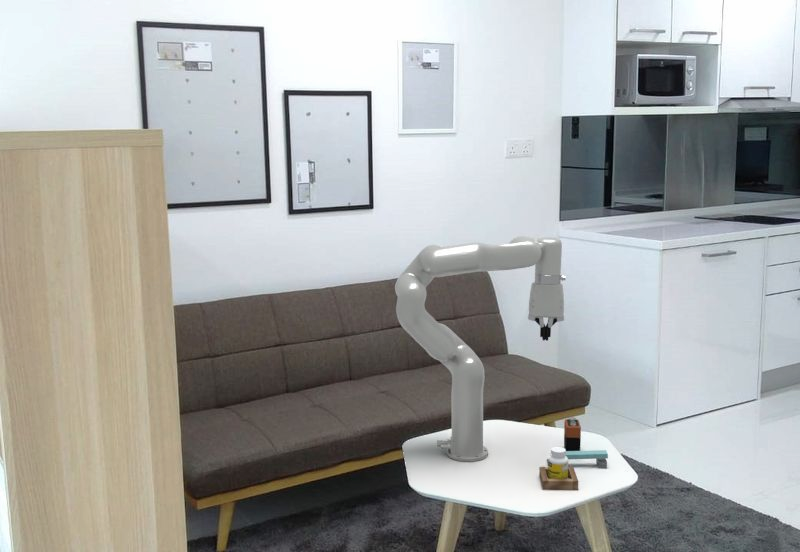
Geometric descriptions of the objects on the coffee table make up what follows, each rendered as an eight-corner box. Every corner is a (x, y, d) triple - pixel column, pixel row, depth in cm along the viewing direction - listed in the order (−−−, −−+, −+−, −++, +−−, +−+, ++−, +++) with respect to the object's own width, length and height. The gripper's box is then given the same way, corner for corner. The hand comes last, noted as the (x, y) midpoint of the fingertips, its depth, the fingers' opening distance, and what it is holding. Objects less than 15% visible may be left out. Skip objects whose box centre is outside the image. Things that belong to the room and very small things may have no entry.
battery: (578, 447, 262) (578, 416, 261) (580, 455, 256) (581, 424, 254) (563, 446, 263) (564, 416, 261) (565, 455, 256) (566, 423, 254)
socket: (542, 489, 233) (543, 480, 232) (539, 475, 242) (539, 466, 242) (578, 489, 232) (578, 481, 232) (573, 475, 242) (573, 467, 241)
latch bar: (554, 460, 247) (554, 454, 247) (553, 456, 250) (553, 450, 250) (607, 459, 246) (607, 453, 246) (606, 455, 249) (606, 449, 249)
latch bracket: (549, 469, 246) (549, 456, 245) (546, 460, 252) (547, 448, 252) (607, 470, 245) (607, 456, 244) (603, 461, 251) (604, 448, 250)
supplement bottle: (544, 481, 238) (544, 448, 236) (557, 476, 241) (557, 444, 239) (558, 488, 234) (559, 454, 232) (571, 483, 237) (572, 449, 235)
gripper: (571, 277, 254) (569, 337, 258) (521, 276, 256) (519, 335, 259) (574, 282, 247) (571, 343, 250) (522, 281, 248) (520, 341, 252)
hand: (545, 339), depth 255 cm, fingers closed
